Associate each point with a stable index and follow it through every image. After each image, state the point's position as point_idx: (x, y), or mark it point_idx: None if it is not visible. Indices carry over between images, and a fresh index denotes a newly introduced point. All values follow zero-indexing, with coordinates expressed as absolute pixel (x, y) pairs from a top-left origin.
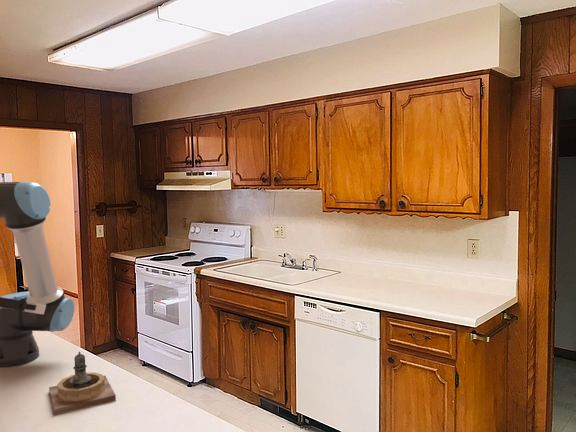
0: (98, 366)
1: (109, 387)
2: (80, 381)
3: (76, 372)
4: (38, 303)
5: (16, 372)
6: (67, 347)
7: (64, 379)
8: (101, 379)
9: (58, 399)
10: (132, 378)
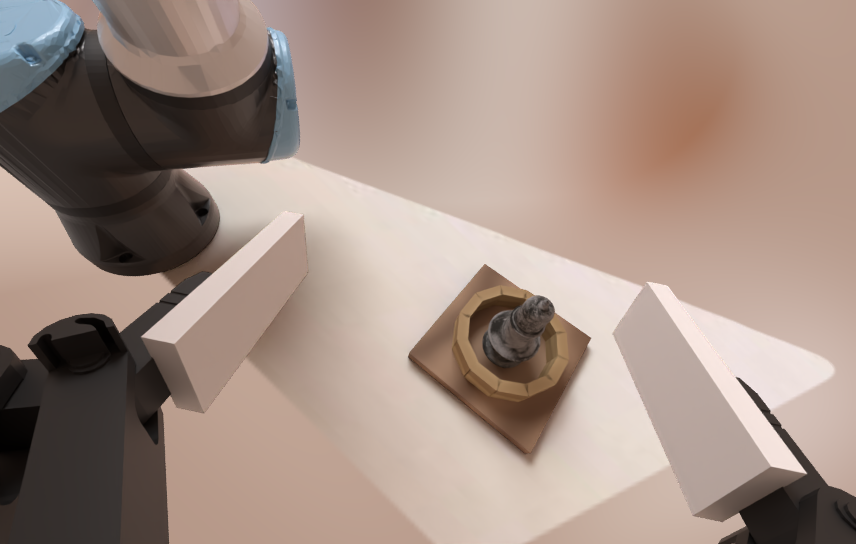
0: (411, 219)
1: None
2: (531, 349)
3: (525, 339)
4: (700, 332)
5: None
6: None
7: (463, 340)
8: None
9: (491, 401)
10: (528, 250)
